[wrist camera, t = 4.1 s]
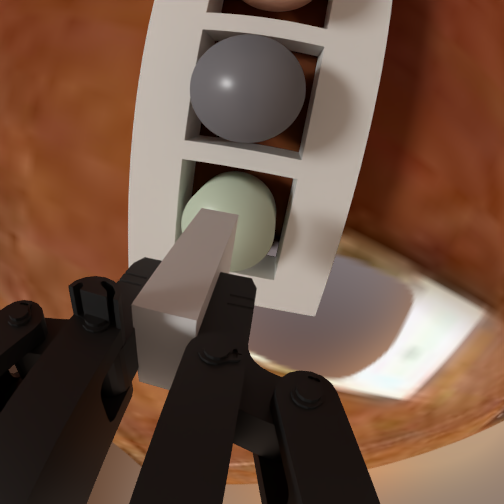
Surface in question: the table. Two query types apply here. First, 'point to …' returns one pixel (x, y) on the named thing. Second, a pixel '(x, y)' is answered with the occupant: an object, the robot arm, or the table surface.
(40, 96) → the table surface
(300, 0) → the button terracotta
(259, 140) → the button charcoal
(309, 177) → the board
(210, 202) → the button sage
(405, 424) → the table surface
